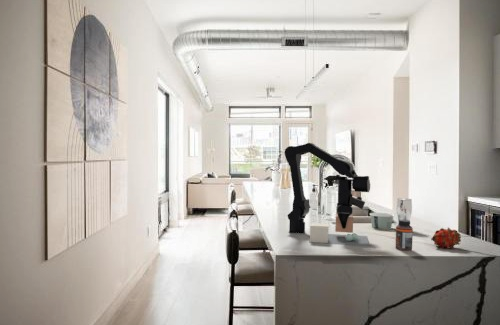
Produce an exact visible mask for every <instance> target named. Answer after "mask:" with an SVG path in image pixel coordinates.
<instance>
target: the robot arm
mask: <svg viewBox="0 0 500 325" xmlns="http://www.w3.org/2000/svg"><path fill="white" fill-rule="evenodd" d="M309 153H310V154H311V155H313V156H314V157H317V158H318V159H319V160H321V161H322V162H324V163H326V164H328V165H329V166H331V167H332V168H333V170H334V171H336V172H337V175H336V176H334V178H333V181H337V185H338V186H337V187H338V188H337V203H336V214H338V217H339V219H340V222H341V225H342V228H343V229H345V228H346V223H347V219H348V216H350V215H353V206H354V207H357V208H359V209H361V210H363V208H364V207H365V204H366V202H365V200H363V198H362V197H361V196H357V197H354V196H353V194H352V190H354V192H356V193H357V192H359V193H370V191H371V181H370V176H369V175H365V176H363V175H362V176H361V175H358V173H356V171H355V170H354V166H353V163H351V162H349V161H348V160H345V159H341V158H338V157H336V156H334V155H332V154H330V152H328V151H326V150H324V149H322V148H321V147H319V146H317V145H316V144H314V143H312V142H307V143H304V144H301V145H295V146H294V145H292V146H291V145H288V146H286V148H285V149H284V156H285V160H286V162H287V164H288V166H289V170H290V176H291V177H290V178H291V182H292V183H291V185H292V190H293V201H292V209H291V211H290V212H289V213H288V214H287V215H286V216H287V219H288V220H289V226H288V228H289V231H288V234H304V233H305V232H306V221H305V218H306V215H308V214H309V212H310V209H311V208H312V207H311V206H310V199H309V198H307V199H306V196H305V193H304V191H305V190H304V186H303V179H302V177H303V176H302V171H301V162H302V156H304V155H306V154H309Z"/></svg>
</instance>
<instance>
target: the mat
mask: <svg viewBox="0 0 500 325" xmlns="http://www.w3.org/2000/svg"><path fill="white" fill-rule="evenodd" d="M346 235H347V234H334V233H329V235H328V243H322V242H310V239H309V240H308V243H310V244H311V243H312V244H328V245H342V246H343V245H344V246H357V247H358V246H359V247H371V243H370V240H369V238H368V236H367V235H358V239H357V240H356V241H353V240H352V241H346V239H345V236H346Z"/></svg>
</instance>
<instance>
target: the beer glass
mask: <svg viewBox="0 0 500 325" xmlns="http://www.w3.org/2000/svg"><path fill="white" fill-rule="evenodd" d="M412 212H413V201H412V198H404V197H403V198H400V197H399V198H397V200H396V215H397V226H398V225H399V220H409V221H410V222H411V217H412Z"/></svg>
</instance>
